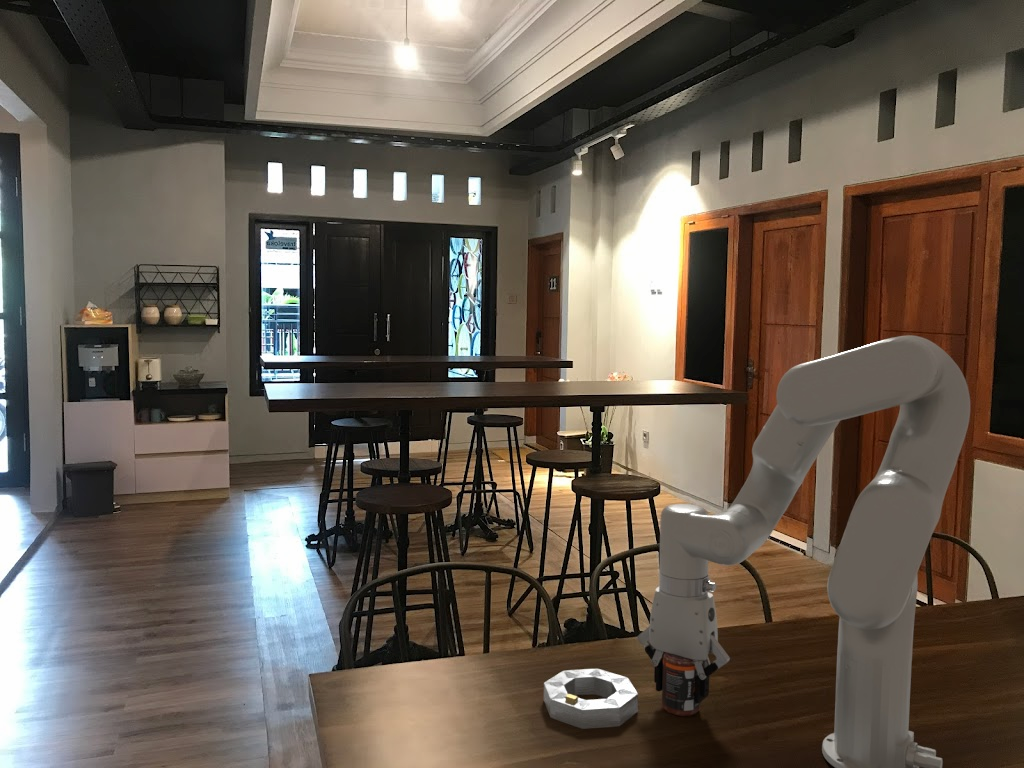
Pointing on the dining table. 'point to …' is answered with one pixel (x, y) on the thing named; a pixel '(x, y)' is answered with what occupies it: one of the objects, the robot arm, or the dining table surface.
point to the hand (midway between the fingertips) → (681, 693)
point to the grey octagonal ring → (590, 711)
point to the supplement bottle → (679, 685)
